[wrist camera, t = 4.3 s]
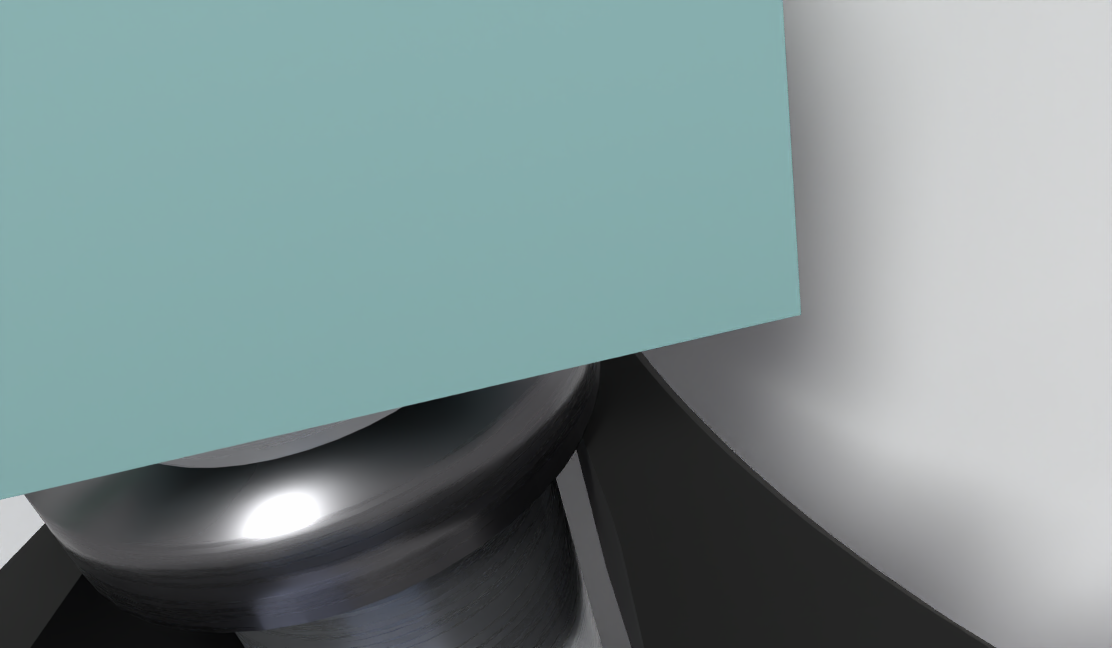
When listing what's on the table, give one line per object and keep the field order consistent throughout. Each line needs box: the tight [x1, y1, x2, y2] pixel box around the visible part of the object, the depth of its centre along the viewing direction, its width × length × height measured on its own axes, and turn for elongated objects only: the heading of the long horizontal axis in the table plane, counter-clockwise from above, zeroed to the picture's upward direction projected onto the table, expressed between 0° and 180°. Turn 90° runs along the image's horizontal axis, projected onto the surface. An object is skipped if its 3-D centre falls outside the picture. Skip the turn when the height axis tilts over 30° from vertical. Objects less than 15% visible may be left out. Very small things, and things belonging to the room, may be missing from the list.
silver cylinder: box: [24, 361, 602, 648], centre depth 9 cm, size 15×4×4 cm, turn 11°
